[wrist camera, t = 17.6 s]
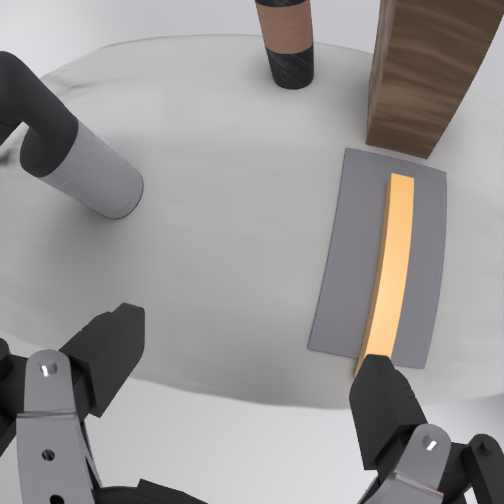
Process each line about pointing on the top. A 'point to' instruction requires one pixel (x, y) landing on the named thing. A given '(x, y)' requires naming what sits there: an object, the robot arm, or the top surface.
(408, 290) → the gray mat
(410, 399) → the robot arm
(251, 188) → the top surface
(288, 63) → the travel mug
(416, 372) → the top surface
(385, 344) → the tan block
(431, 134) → the walnut pedestal
